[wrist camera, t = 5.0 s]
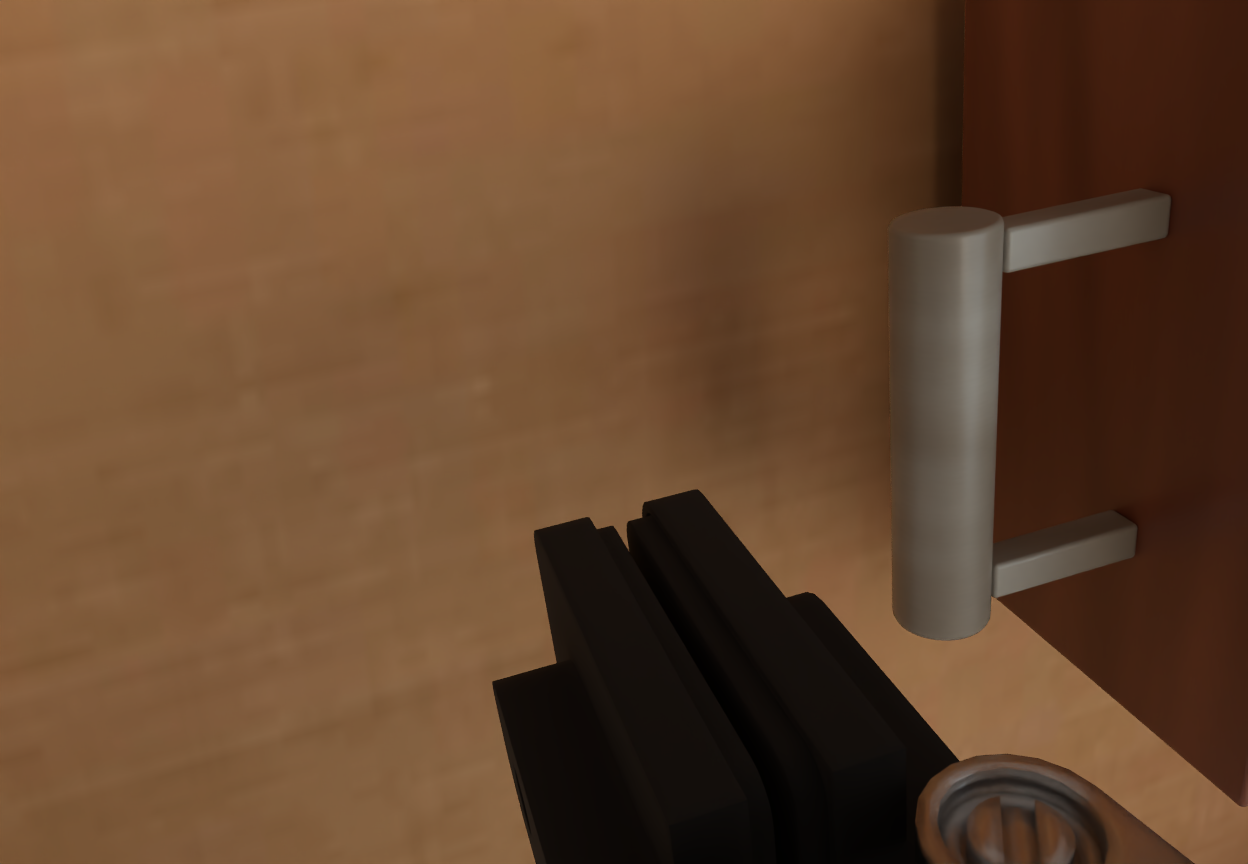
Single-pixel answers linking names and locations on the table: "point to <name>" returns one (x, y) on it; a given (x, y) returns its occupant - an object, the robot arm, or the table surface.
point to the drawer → (1087, 360)
